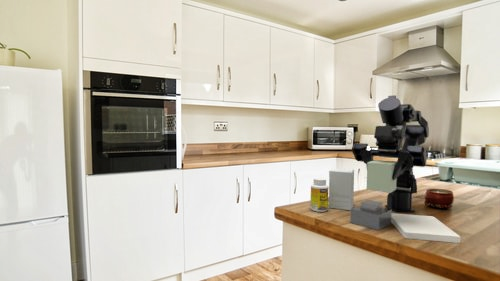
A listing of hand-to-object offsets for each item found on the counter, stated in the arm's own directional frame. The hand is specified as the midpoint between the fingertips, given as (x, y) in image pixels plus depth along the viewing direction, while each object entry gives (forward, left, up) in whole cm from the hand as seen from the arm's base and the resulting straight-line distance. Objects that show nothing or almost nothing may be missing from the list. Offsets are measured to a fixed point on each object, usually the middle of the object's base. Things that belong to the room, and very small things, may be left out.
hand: (380, 177), depth 78 cm
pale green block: (-1, -1, -3) cm, 4 cm away
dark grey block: (+1, -3, -13) cm, 14 cm away
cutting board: (-10, +3, -13) cm, 17 cm away
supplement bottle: (+10, -17, -14) cm, 24 cm away
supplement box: (+1, -20, -14) cm, 24 cm away
